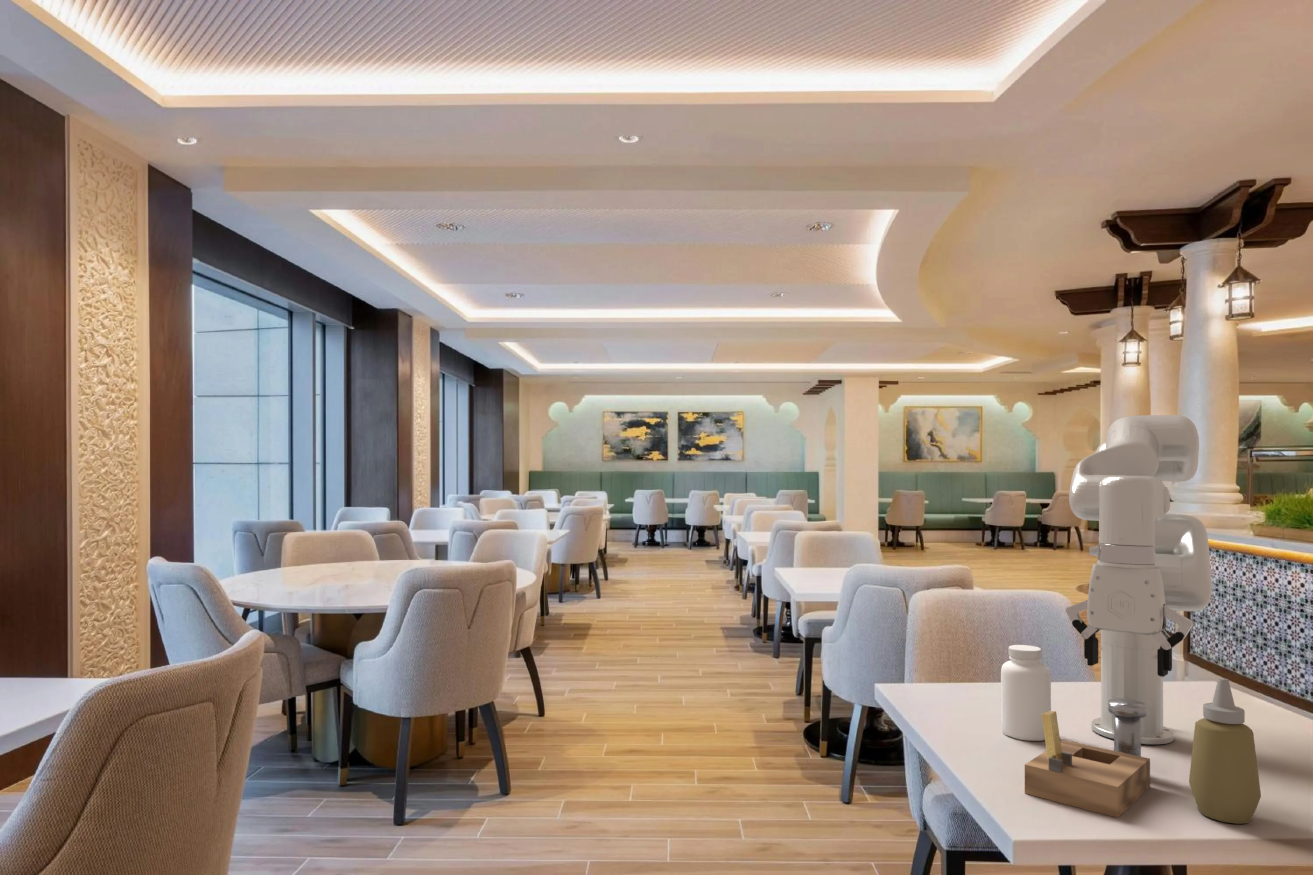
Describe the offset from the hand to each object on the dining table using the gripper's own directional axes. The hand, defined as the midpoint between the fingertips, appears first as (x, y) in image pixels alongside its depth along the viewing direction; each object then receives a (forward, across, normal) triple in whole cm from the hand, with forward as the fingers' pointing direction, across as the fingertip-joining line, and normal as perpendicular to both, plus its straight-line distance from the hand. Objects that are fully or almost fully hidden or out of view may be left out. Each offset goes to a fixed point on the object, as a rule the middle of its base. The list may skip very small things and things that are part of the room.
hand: (1127, 669), depth 131 cm
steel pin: (+16, 0, +1) cm, 16 cm away
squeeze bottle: (+16, +14, -8) cm, 23 cm away
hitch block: (+16, -2, -11) cm, 20 cm away
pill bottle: (+16, -18, +9) cm, 26 cm away
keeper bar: (+8, -5, -17) cm, 19 cm away
